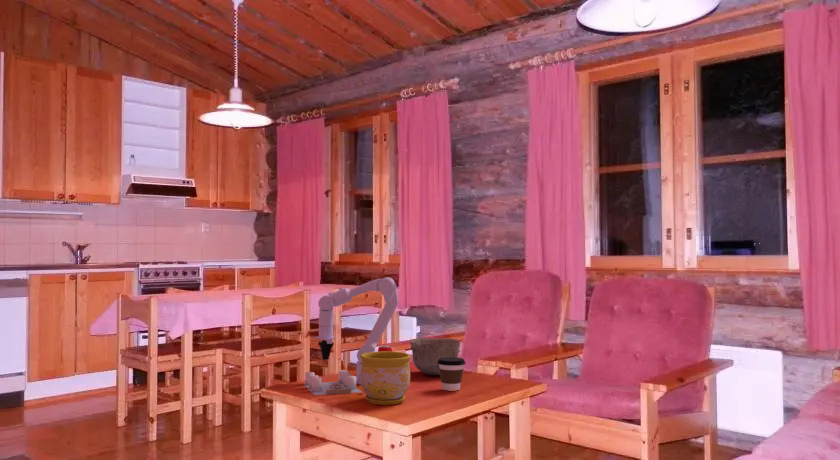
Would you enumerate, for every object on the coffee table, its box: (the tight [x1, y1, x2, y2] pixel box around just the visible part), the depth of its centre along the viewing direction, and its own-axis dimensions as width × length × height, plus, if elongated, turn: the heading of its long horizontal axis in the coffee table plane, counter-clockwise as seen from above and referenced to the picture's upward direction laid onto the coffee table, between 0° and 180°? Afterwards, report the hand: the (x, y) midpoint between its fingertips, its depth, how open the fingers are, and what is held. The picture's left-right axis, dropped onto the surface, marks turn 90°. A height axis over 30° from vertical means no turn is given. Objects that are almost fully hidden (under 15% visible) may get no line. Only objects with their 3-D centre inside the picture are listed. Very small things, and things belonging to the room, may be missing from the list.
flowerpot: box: [360, 351, 412, 406], centre depth 237 cm, size 18×18×16 cm
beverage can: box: [377, 344, 393, 352], centre depth 291 cm, size 6×6×12 cm
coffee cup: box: [437, 356, 466, 391], centre depth 257 cm, size 11×11×12 cm
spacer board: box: [303, 369, 363, 396], centre depth 254 cm, size 18×23×6 cm
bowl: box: [409, 337, 461, 376], centre depth 289 cm, size 22×22×15 cm
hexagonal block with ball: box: [330, 384, 344, 390], centre depth 247 cm, size 5×5×3 cm
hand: (325, 359), depth 265 cm, fingers closed
